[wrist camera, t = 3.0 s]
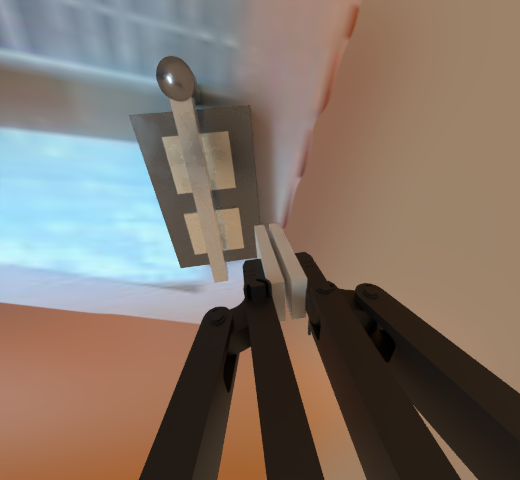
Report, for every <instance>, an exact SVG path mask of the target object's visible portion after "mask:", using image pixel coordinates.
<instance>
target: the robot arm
mask: <svg viewBox="0 0 520 480" xmlns="http://www.w3.org/2000/svg"><path fill="white" fill-rule="evenodd" d="M254 230H255V240H256V249H257V257H258V259H255V260H248V261H245V263H244V264H243V275H244V288H243V289H244V295H245V298H244V300H243V302H242V303H241V304H240V305H238V306H237V307H235V308H233V309H230V310H229V309H228V308H226V307H215V308H213V309H211V310H209V311H208V312H207V313H206V314H205V316H204V317H203V320H202V322H201V325H200V327H199V330H198V332H197V335H196V337H195V340H194V342H193V345H192V347H191V350H190V352H189V355H188V357H187V360H186V362H185V365H184V368H183V370H182V372H181V375H180V377H179V381H178V382H177V385H176V388H175V390H174V393H173V395H172V398H171V400H170V403H169V405H168V408H167V410H166V413H165V415H164V418H163V420H162V423H161V425H160V428H159V430H158V433H157V435H156V438H155V440H154V443H153V446H152V448H151V450H150V453H149V455H148V458H147V461H146V463H145V466H144V468H143V471H142V473H141V476H140V478H139V480H217V478H218V472H219V466H220V461H221V455H222V449H223V444H224V438H225V433H226V427H227V422H228V416H229V410H230V404H231V399H232V393H233V387H234V382H235V376H236V371H237V365H238V359H239V353H240V352H242V351H244V350H245V349H247V348H249V347H251V351H252V359H253V368H254V376H255V383H256V392H257V401H258V408H259V417H260V425H261V433H262V442H263V450H264V458H265V467H266V474H267V480H324V477H323V473H322V470H321V466H320V463H319V459H318V456H317V452H316V449H315V445H314V442H313V438H312V434H311V431H310V427H309V424H308V421H307V417H306V413H305V410H304V406H303V403H302V400H301V396H300V392H299V389H298V385H297V382H296V379H295V375H294V371H293V368H292V364H291V361H290V357H289V354H288V350H287V346H286V343H285V340H284V337H283V332H282V329H281V326H280V321H285V300H286V303H287V306H288V309H289V312H290V315H291V318H292V319H297V318H303V317H305V316H306V312H307V314H308V316H309V321H308V335H310V334H311V332H312V335H313V338H314V340H315V343H316V345H317V348H318V351H319V353H320V356H321V359H322V362H323V364H324V367H325V369H326V372H327V375H328V378H329V380H330V383H331V386H332V388H333V391H334V393H335V396H336V399H337V402H338V404H339V407H340V410H341V412H342V415H343V418H344V420H345V423H346V426H347V428H348V431H349V434H350V436H351V439H352V442H353V444H354V447H355V450H356V452H357V455H358V458H359V460H360V463H361V465H362V468H363V471H364V473H365V476H366V479H367V480H461V479H460V477H459V476H458V474H457V473H456V471H455V469H454V468H453V466H452V465H451V463H450V462H449V460H448V459H447V457H446V456H445V454H444V452H443V451H442V449H441V448H440V446H439V445H438V443H437V442H436V440H435V439H434V437H433V435H432V434H431V432H430V431H429V429H428V428H427V426H426V424H425V423H424V421H423V420H422V418H421V417H420V415H419V414H418V412H417V411H416V409H417V410H418V411H419V412H420V413H421V414H422V416H423V417H424V418H425V419H426V420H427V421H428V422H429V423H430V425H431V426H432V427H433V428H434V429H435V430H436V432H437V433H438V434H439V435H440V436H441V437H442V439H443V440H444V441H445V442H446V443H447V444H448V445H449V447H450V448H451V449H452V450H453V451H454V452H455V453H456V455H457V456H458V457H459V458H460V459H461V460H462V462H463V463H464V464H465V465H466V466H467V467H468V468H469V470H470V471H471V472H472V473H473V474H474V475H475V477H476V478H477V479H478V480H520V394H519V393H518V392H517V391H516V390H514V389H513V388H512V387H510V386H509V385H508V384H506V383H505V382H503V381H502V380H501V379H500V378H498V377H497V376H496V375H494V374H493V373H492V372H491V371H489V370H488V369H487V368H485V367H484V366H483V365H481V364H480V363H479V362H477V361H476V360H475V359H473V358H472V357H471V356H470V355H468V354H467V353H466V352H464V351H463V350H462V349H460V348H459V347H458V346H456V345H455V344H454V343H452V342H451V341H450V340H448V339H447V338H446V337H445V336H443V335H442V334H441V333H439V332H438V331H437V330H435V329H434V328H433V327H431V326H430V325H429V324H427V323H426V322H425V321H423V320H422V319H421V318H420V317H418V316H417V315H416V314H414V313H413V312H412V311H410V310H409V309H408V308H406V307H405V306H404V305H402V304H401V303H400V302H398V301H397V300H396V299H395V298H393V297H392V296H391V295H389V294H388V293H387V292H385V291H384V290H383V289H381V288H380V287H378V286H376V285H373V284H368V283H364V284H360V285H358V286H357V287H356V289H355V291H354V290H344V289H339V288H337V286H336V285H335V284H333V283H332V282H330V281H327V280H326V279H325V277H324V275H323V274H322V272H321V271H320V269H319V267H318V266H317V265H316V263H315V262H314V260H313V258H312V257H311V255H309V254H307V253H306V252H301V253H294V252H293V250H292V248H291V246H290V244H289V242H288V240H287V238H286V236H285V235H284V232H283V230H282V229H281V227H280V225H279V223H273V224H269V236H270V240H269V237H268V234H267V232H266V229H265V226H264V225H258V226H254ZM413 405H414V406H415V407H416V409H415V407H414V406H413Z"/></svg>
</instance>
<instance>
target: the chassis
mask: <svg viewBox="0 0 520 480" xmlns="http://www.w3.org/2000/svg"><path fill="white" fill-rule="evenodd" d="M200 97H201V93H200V89H199V87H198V92H197V95H196V97H195V99H194V101H195V104H197V103H198V102H199V100H200ZM196 111H197V117H198V122H199V127H200V132H201V137H202V142H203V147H204V152H205V157H206V162H207V167H208V172H209V177H210V182H211V187H212V193H213V198H214V203H215V208H216V213H217V218H218V223H219V228H220V233H221V238H222V243H223V248H224V253H225V258H226V262H228V261H236V260H243V259H250V258H257V249H256V240H255V230H254V226H258V225H260V217H259V206H258V194H257V183H256V171H255V160H254V148H253V136H252V125H251V113H250V105H248V106H236V107H224V108H212V109H200V110H196ZM129 117H130V120H131V123H132V126H133V128H134V131H135V134H136V137H137V140H138V143H139V146H140V149H141V152H142V155H143V158H144V161H145V164H146V167H147V170H148V173H149V176H150V179H151V182H152V185H153V187H154V190H155V193H156V196H157V199H158V202H159V205H160V208H161V211H162V214H163V217H164V220H165V223H166V226H167V229H168V232H169V235H170V238H171V241H172V244H173V246H174V249H175V252H176V255H177V258H178V261H179V264H180V267H181V268H186V267H193V266H200V265H207V264H210V261H209V257H208V253H207V249H206V245H205V241H204V237H203V233H202V229H201V225H200V221H199V217H198V213H197V208H196V204H195V200H194V196H193V192H192V188H191V184H190V180H189V176H188V172H187V168H186V164H185V160H184V156H183V152H182V148H181V144H180V140H179V135H178V131H177V127H176V123H175V119H174V115H173V112H164V113H152V114H140V115H129Z"/></svg>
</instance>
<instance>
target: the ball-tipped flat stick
mask: <svg viewBox="0 0 520 480" xmlns="http://www.w3.org/2000/svg"><path fill="white" fill-rule="evenodd" d="M156 76H157V82H158V84H159V87H160V89H161V90H162V92H163V93H164V94H165V95H166V96H167V97H169V99H170V103H171V107H172V111H173V115H174V119H175V123H176V127H177V131H178V135H179V140H180V144H181V148H182V152H183V156H184V160H185V164H186V168H187V172H188V176H189V180H190V184H191V188H192V192H193V196H194V200H195V204H196V208H197V213H198V217H199V221H200V225H201V229H202V233H203V237H204V241H205V245H206V249H207V253H208V257H209V261H210V265H211V269H212V273H213V277H214V281H215V282H222V281H228V268H227V263H226V258H225V253H224V248H223V243H222V238H221V233H220V228H219V223H218V218H217V213H216V208H215V203H214V198H213V193H212V187H211V182H210V177H209V172H208V167H207V162H206V157H205V152H204V147H203V142H202V137H201V132H200V127H199V122H198V117H197V111H196V106H195V101H194V99H195V97H196V95H197V92H198V84H197V80H196V78H195V76H194V74H193V72H192V71H191V69H190V68H189V66H188V65H187V64H186V63H185V62H184V61H183V60H181V59H180V58H178V57H174V56H168V57H165V58H163V59H162V60H161V61H160V62H159V64H158V66H157V71H156Z"/></svg>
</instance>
